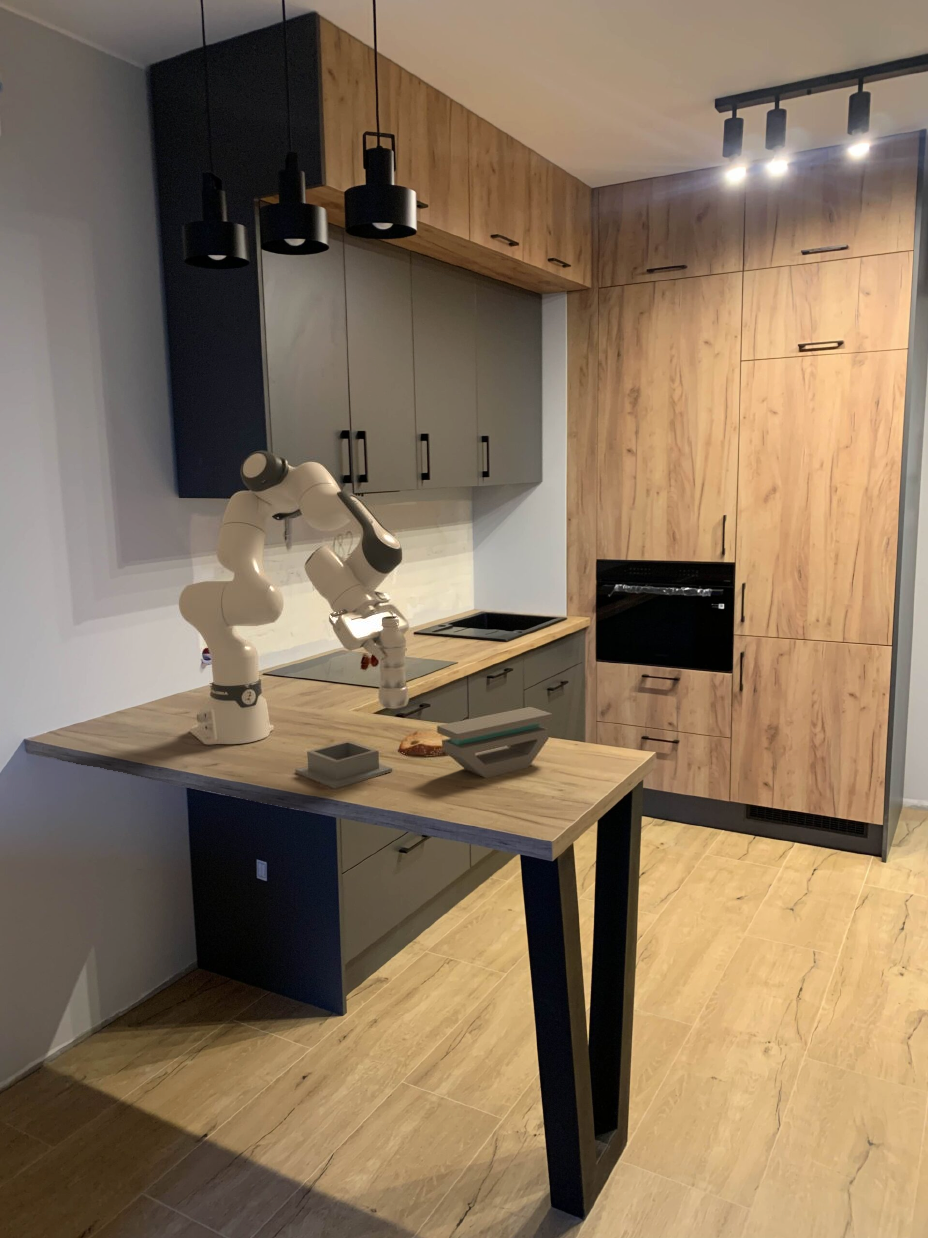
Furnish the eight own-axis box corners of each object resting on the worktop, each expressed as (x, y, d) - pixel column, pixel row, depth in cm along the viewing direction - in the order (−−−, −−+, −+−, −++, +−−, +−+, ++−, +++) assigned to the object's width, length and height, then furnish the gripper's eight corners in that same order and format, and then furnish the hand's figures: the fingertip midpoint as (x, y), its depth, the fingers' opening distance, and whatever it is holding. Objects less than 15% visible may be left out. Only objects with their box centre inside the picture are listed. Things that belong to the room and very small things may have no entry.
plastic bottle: (408, 711, 200) (404, 619, 197) (376, 711, 200) (372, 620, 197) (410, 703, 206) (407, 614, 203) (380, 704, 207) (376, 615, 203)
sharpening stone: (530, 753, 213) (530, 706, 211) (552, 761, 206) (552, 713, 205) (438, 775, 199) (437, 725, 197) (458, 784, 193) (457, 734, 191)
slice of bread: (494, 741, 224) (494, 726, 223) (461, 763, 208) (461, 747, 207) (428, 734, 232) (428, 719, 231) (392, 754, 216) (391, 738, 215)
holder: (295, 772, 203) (294, 751, 202) (351, 757, 213) (350, 737, 212) (334, 789, 192) (333, 766, 191) (392, 771, 202) (391, 750, 201)
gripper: (332, 604, 194) (371, 654, 191) (391, 592, 211) (428, 637, 208) (317, 624, 197) (355, 673, 194) (376, 610, 215) (412, 655, 211)
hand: (393, 655), depth 201 cm, fingers closed on plastic bottle, 6 cm apart
